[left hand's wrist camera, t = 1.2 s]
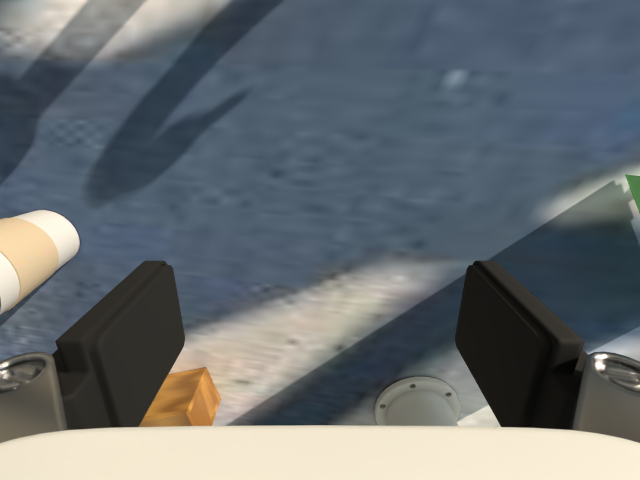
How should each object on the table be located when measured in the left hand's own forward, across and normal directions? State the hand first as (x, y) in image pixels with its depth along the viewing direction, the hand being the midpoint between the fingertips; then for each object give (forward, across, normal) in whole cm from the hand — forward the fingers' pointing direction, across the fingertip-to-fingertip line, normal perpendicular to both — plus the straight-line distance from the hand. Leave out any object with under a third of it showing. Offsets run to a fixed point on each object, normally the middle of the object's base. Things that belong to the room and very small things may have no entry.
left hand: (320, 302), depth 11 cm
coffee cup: (+29, -32, -9) cm, 45 cm away
